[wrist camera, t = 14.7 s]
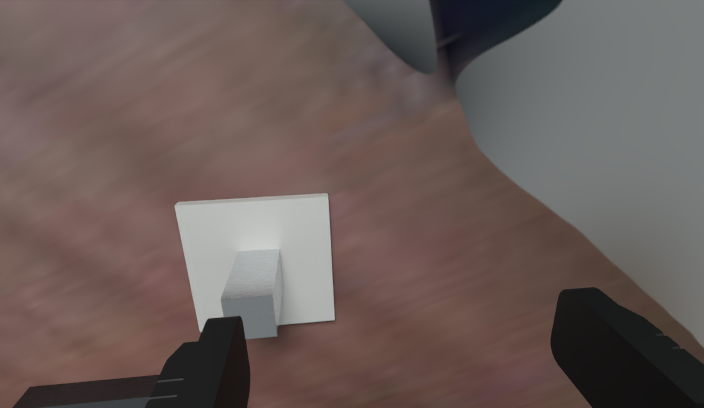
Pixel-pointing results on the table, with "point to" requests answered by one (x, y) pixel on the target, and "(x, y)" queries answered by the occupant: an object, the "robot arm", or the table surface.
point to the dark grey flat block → (91, 394)
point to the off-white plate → (260, 234)
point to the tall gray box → (255, 292)
